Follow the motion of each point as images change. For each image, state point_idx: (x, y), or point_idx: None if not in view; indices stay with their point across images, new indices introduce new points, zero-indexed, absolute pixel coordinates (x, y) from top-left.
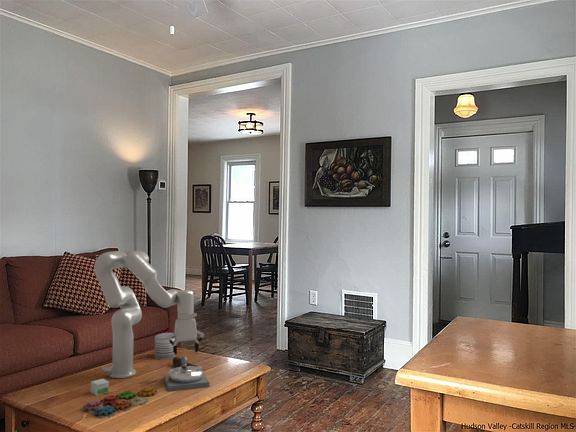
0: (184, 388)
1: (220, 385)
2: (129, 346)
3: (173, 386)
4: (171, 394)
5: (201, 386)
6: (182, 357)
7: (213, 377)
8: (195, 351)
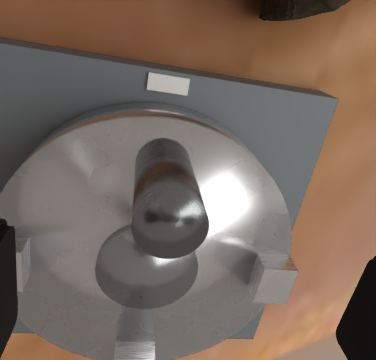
0: None
1: (304, 321)
2: None
3: (27, 330)
4: (15, 351)
5: None
6: (135, 239)
7: (351, 192)
8: (348, 310)
